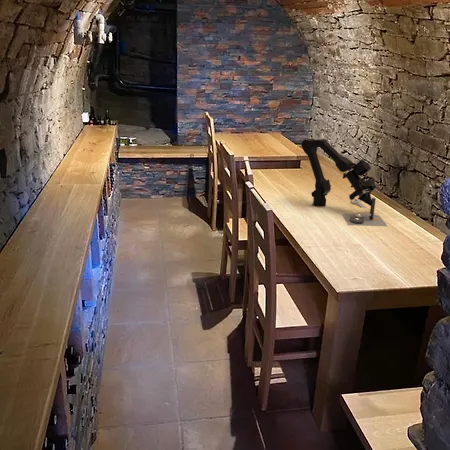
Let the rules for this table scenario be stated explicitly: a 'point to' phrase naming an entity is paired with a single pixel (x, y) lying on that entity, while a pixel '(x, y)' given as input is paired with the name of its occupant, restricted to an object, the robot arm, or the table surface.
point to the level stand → (366, 220)
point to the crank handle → (360, 217)
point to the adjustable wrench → (358, 203)
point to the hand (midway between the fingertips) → (371, 205)
